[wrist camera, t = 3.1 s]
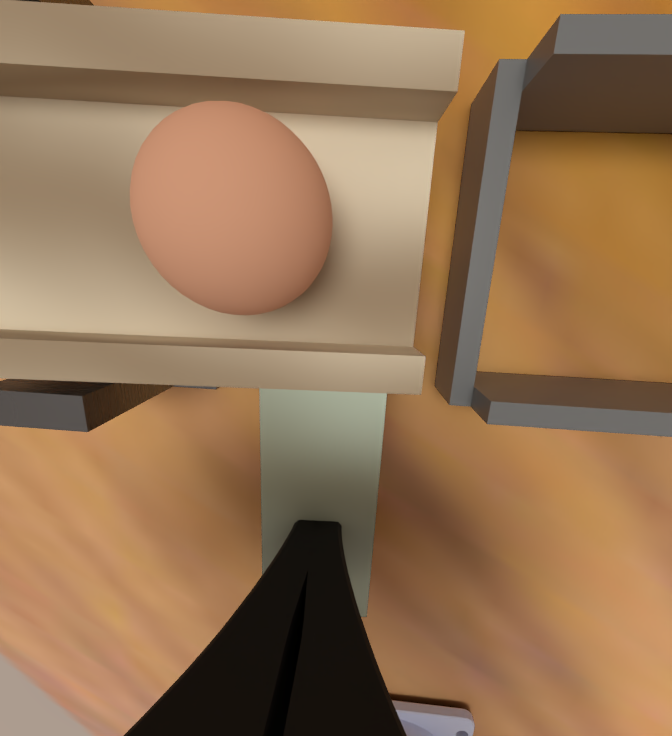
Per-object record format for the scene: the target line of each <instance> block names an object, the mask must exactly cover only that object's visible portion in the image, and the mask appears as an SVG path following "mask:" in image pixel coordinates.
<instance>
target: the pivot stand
mask: <svg viewBox="0 0 672 736" xmlns="http://www.w3.org/2000/svg"><path fill="white" fill-rule="evenodd" d="M17 1H32V2H47V3H62V4H77V5H91V6H94V5H93V4H92V3H91V2H90V0H17ZM173 386H174V387H189V388H204V389H218V388H219V387H210V386H184V385H159V384H133V383H107V382H82V381H56V380H31V379H6V380H3V381H0V425H2V426H15V427H29V428H42V429H55V430H68V431H81V432H89V431H91V430H93V429H94V428H96V427H98V426H100V425H102V424H104V423H106V422H107V421H109V420H111V419H113V418H115V417H117V416H119V415H120V414H122V413H124V412H126V411H128V410H130V409H132V408H134V407H135V406H137V405H139V404H141V403H143V402H145V401H147V400H148V399H150V398H152V397H154V396H156V395H158V394H160V393H161V392H163V391H165V390H167V389H169V388H171V387H173Z"/></svg>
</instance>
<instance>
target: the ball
mask: <svg viewBox="0 0 672 736" xmlns="http://www.w3.org/2000/svg"><path fill="white" fill-rule="evenodd" d="M130 208H131V214H132V219H133V224H134V227H135V230H136V233H137V236H138V239H139V241H140V243H141V245H142V247H143V250H144V252H145V253H146V255H147V256H148V258H149V260H150V261H151V263H152V264H153V266H154V267H155V268H156V270H157V271H158V272H159V273H160V275H161V276H162V277H163V278H164V279H165V280H166V281H167V282H168V283H169V284H170V285H171V286H172V287H174V288H175V289H176V290H177V291H179V292H180V293H181V294H182V295H184V296H186V297H187V298H189V299H190V300H192V301H194V302H195V303H197V304H200V305H202V306H204V307H206V308H208V309H211V310H214V311H217V312H221V313H227V314H232V315H257V314H262V313H266V312H270V311H274V310H276V309H279V308H281V307H283V306H285V305H287V304H289V303H290V302H292V301H293V300H295V299H296V298H297V297H299V296H300V295H301V294H303V293H304V292H305V291H306V290H307V289H308V288H309V286H310V285H311V284H312V282H313V281H314V280H315V279H316V277H317V276H318V274H319V272H320V271H321V269H322V267H323V265H324V262H325V260H326V257H327V254H328V251H329V247H330V242H331V237H332V227H333V217H332V206H331V200H330V195H329V191H328V188H327V185H326V182H325V179H324V177H323V174H322V172H321V170H320V168H319V166H318V164H317V162H316V160H315V159H314V157H313V156H312V154H311V153H310V151H309V150H308V149H307V147H306V146H305V145H304V143H303V142H302V141H301V140H300V139H299V138H298V137H297V136H296V135H295V134H294V133H293V132H292V131H291V130H290V129H289V128H288V127H287V126H285V125H284V124H283V123H282V122H280V121H279V120H277V119H276V118H274V117H273V116H271V115H270V114H267V113H265V112H263V111H261V110H259V109H257V108H254V107H252V106H249V105H245V104H242V103H238V102H231V101H204V102H199V103H194V104H191V105H188V106H186V107H183V108H181V109H179V110H177V111H175V112H173V113H172V114H170V115H168V116H167V117H165V118H164V119H163V120H162V121H161V122H160V123H159V124H158V125H157V126H155V127H154V128H153V130H152V131H151V132H150V134H149V135H148V136H147V138H146V139H145V141H144V142H143V144H142V145H141V147H140V150H139V152H138V154H137V156H136V159H135V162H134V166H133V169H132V174H131V183H130Z"/></svg>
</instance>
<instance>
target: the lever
mask: <svg viewBox="0 0 672 736" xmlns="http://www.w3.org/2000/svg"><path fill="white" fill-rule="evenodd" d="M464 33H465V31H462V30H447V29H432V28H417V27H402V26H388V25H373V24H358V23H343V22H328V21H314V20H299V19H284V18H269V17H254V16H240V15H225V14H210V13H195V12H180V11H165V10H151V9H136V8H121V7H106V6H91V5H77V4H62V3H47V2H32V1H17V0H0V378H5V379H31V380H56V381H82V382H107V383H133V384H159V385H184V386H210V387H235V388H259V392H260V455H261V518H262V575H263V574H264V572H265V571H266V569H267V568H268V566H269V565H270V563H271V562H272V561H273V559H274V557H275V556H276V554H277V553H278V551H279V550H280V548H281V546H282V545H283V543H284V542H285V540H286V538H287V536H288V535H289V533H290V531H291V529H292V527H293V525H294V523H295V522H297V521H298V520H315V521H335V522H339V523H340V524H341V526H342V542H343V549H344V554H345V559H346V564H347V569H348V573H349V577H350V581H351V585H352V588H353V592H354V596H355V599H356V603H357V606H358V609H359V612H360V616H361V617H367V608H368V597H369V586H370V575H371V564H372V553H373V542H374V531H375V520H376V509H377V498H378V487H379V476H380V465H381V454H382V443H383V432H384V421H385V410H386V399H387V393H389V394H414V395H421V392H422V384H423V376H424V367H425V359H426V356H425V355H423V354H422V353H421V352H419V351H418V350H417V349H415V348H414V347H413V344H414V335H415V325H416V316H417V307H418V298H419V288H420V279H421V270H422V261H423V252H424V242H425V233H426V224H427V215H428V206H429V196H430V187H431V178H432V169H433V160H434V150H435V141H436V132H437V123H438V121H439V119H440V118H441V116H442V115H443V113H444V112H445V110H446V109H447V107H448V105H449V104H450V102H451V101H452V99H453V98H454V96H455V95H456V93H457V92H458V83H459V75H460V67H461V58H462V50H463V42H464ZM204 101H231V102H238V103H242V104H245V105H249V106H252V107H254V108H257V109H259V110H261V111H263V112H265V113H267V114H270V115H271V116H273V117H274V118H276V119H277V120H279V121H280V122H282V123H283V124H284V125H285V126H287V127H288V128H289V129H290V130H291V131H292V132H293V133H294V134H295V135H296V136H297V137H298V138H299V139H300V140H301V141H302V142H303V143H304V145H305V146H306V147H307V149H308V150H309V151H310V153H311V154H312V156H313V157H314V159H315V160H316V162H317V164H318V166H319V168H320V170H321V172H322V174H323V177H324V179H325V182H326V185H327V188H328V191H329V195H330V200H331V206H332V217H333V227H332V237H331V242H330V247H329V251H328V254H327V257H326V260H325V262H324V265H323V267H322V269H321V271H320V272H319V274H318V276H317V277H316V279H315V280H314V281H313V282H312V284H311V285H310V286H309V288H308V289H307V290H306V291H305V292H304V293H303V294H301V295H300V296H299V297H297V298H296V299H295V300H293V301H292V302H290V303H289V304H287V305H285V306H283V307H281V308H279V309H276V310H274V311H270V312H266V313H262V314H257V315H232V314H227V313H221V312H217V311H214V310H211V309H208V308H206V307H204V306H202V305H200V304H197V303H195V302H194V301H192V300H190V299H189V298H187V297H186V296H184V295H182V294H181V293H180V292H179V291H177V290H176V289H175V288H174V287H172V286H171V285H170V284H169V283H168V282H167V281H166V280H165V279H164V278H163V277H162V276H161V275H160V273H159V272H158V271H157V270H156V268H155V267H154V266H153V264H152V263H151V261H150V260H149V258H148V256H147V255H146V253H145V252H144V250H143V247H142V245H141V243H140V241H139V239H138V236H137V233H136V230H135V227H134V224H133V219H132V214H131V208H130V183H131V174H132V169H133V166H134V162H135V159H136V156H137V154H138V152H139V150H140V147H141V145H142V144H143V142H144V141H145V139H146V138H147V136H148V135H149V134H150V132H151V131H152V130H153V128H154V127H155V126H157V125H158V124H159V123H160V122H161V121H162V120H163V119H164V118H165V117H167V116H168V115H170V114H172V113H173V112H175V111H177V110H179V109H181V108H183V107H186V106H188V105H191V104H194V103H199V102H204Z"/></svg>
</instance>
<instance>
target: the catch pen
mask: <svg viewBox="0 0 672 736" xmlns="http://www.w3.org/2000/svg"><path fill="white" fill-rule="evenodd" d="M516 130H529V131H580V132H631V133H672V14H560V16H559V17H558V18H557V20H556V21H555V23H554V24H553V25H552V27H551V28H550V29H549V31H548V32H547V33H546V35H545V36H544V37H543V39H542V40H541V41H540V43H539V44H538V45H537V47H536V48H535V49H534V51H533V52H532V53H531V55H530V56H529V58H528V59H499V61H498V62H497V64H496V65H495V67H494V69H493V70H492V72H491V73H490V75H489V77H488V78H487V80H486V82H485V83H484V85H483V86H482V88H481V90H480V91H479V93H478V94H477V96H476V98H475V99H474V101H473V102H472V104H471V111H470V119H469V127H468V134H467V142H466V150H465V157H464V165H463V173H462V180H461V188H460V196H459V203H458V211H457V219H456V226H455V234H454V242H453V249H452V257H451V265H450V273H449V280H448V288H447V296H446V303H445V311H444V319H443V326H442V334H441V342H440V349H439V357H438V365H437V372H436V380H435V387H436V388H437V390H438V391H439V392H440V394H441V395H442V396H443V397H444V399H445V400H446V401H447V403H448V404H449V405H457V406H471V407H472V408H473V410H474V411H475V412H476V413H477V414H478V415H479V416H480V417H481V418H482V419H483V420H484V421H485V422H486V423H487V424H494V425H509V426H523V427H538V428H552V429H567V430H581V431H595V432H610V433H624V434H639V435H653V436H667V437H672V383H658V382H641V381H625V380H608V379H592V378H575V377H559V376H542V375H526V374H509V373H493V372H476V370H477V364H478V358H479V352H480V346H481V340H482V333H483V327H484V321H485V315H486V309H487V303H488V297H489V290H490V284H491V278H492V272H493V266H494V260H495V254H496V247H497V241H498V235H499V229H500V223H501V217H502V211H503V204H504V198H505V192H506V186H507V180H508V174H509V168H510V161H511V155H512V149H513V143H514V137H515V131H516Z"/></svg>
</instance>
